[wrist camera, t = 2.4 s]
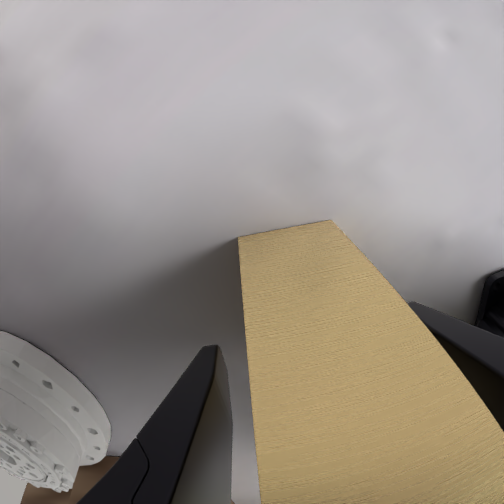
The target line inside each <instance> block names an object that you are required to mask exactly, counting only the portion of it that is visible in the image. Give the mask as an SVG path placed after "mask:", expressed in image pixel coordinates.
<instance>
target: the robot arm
mask: <svg viewBox="0 0 504 504" xmlns="http://www.w3.org/2000/svg"><path fill="white" fill-rule="evenodd" d="M407 304H408V305H409V307H410V308H411V309H412V310H413V311H414V313H415V314H416V315H417V316H418V317H419V319H420V320H421V321H422V322H423V323H424V325H425V326H426V327H427V328H428V330H429V331H430V332H431V333H432V334H433V336H434V337H435V338H436V339H437V341H438V342H439V343H440V345H441V346H442V347H443V348H444V350H445V351H446V352H447V353H448V355H449V356H450V357H451V359H452V360H453V361H454V363H455V364H456V365H457V367H458V368H459V369H460V371H461V372H462V373H463V375H464V376H465V377H466V379H467V380H468V381H469V383H470V384H471V385H472V387H473V388H474V390H475V391H476V392H477V394H478V395H479V397H480V398H481V399H482V401H483V402H484V404H485V405H486V407H487V408H488V409H489V411H490V412H491V414H492V415H493V417H494V418H495V420H496V421H497V423H498V424H499V426H500V427H501V429H502V430H503V432H504V270H503V271H501V272H498V273H495V274H493V275H491V276H490V277H489V278H488V279H487V281H486V282H485V285H484V289H483V294H482V299H481V304H480V308H479V312H478V317H477V321H476V325H475V326H473V325H471V324H468V323H466V322H463V321H461V320H458V319H456V318H453V317H451V316H448V315H446V314H444V313H441V312H439V311H436V310H434V309H431V308H429V307H426V306H424V305H421V304H419V303H416V302H408V303H407ZM232 433H233V423H232V411H231V402H230V392H229V382H228V373H227V368H226V365H225V362H224V358H223V355H222V352H221V349H220V347H219V346H218V345H210V346H204V347H203V348H202V349H201V350H200V351H199V353H198V354H197V355H196V357H195V358H194V360H193V361H192V362H191V364H190V365H189V366H188V368H187V369H186V370H185V372H184V373H183V374H182V376H181V377H180V379H179V380H178V381H177V383H176V384H175V385H174V387H173V388H172V389H171V391H170V392H169V393H168V395H167V396H166V397H165V399H164V400H163V401H162V403H161V404H160V405H159V407H158V408H157V409H156V411H155V412H154V414H153V415H152V416H151V418H150V419H149V420H148V422H147V423H146V424H145V426H144V427H143V428H142V430H141V431H140V432H139V433H138V435H137V439H136V438H135V439H134V440H133V441H132V443H131V444H130V445H129V447H128V448H127V449H126V450H125V452H124V453H123V454H122V455H121V457H120V458H119V459H118V460H117V461H116V463H115V464H114V465H113V466H112V467H111V468H110V469H109V470H108V472H107V473H106V474H105V475H104V476H103V477H102V478H101V479H100V480H99V481H98V482H97V483H96V484H95V485H94V486H93V487H92V488H91V489H90V490H89V491H88V492H87V493H86V494H85V495H84V496H83V497H82V498H81V499H80V500H79V501H78V502H77V503H76V504H231V471H232Z"/></svg>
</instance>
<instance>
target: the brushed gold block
mask: <svg viewBox="0 0 504 504" xmlns="http://www.w3.org/2000/svg"><path fill="white" fill-rule="evenodd" d="M238 246H239V259H240V272H241V285H242V297H243V310H244V322H245V334H246V346H247V358H248V369H249V380H250V392H251V403H252V414H253V424H254V435H255V446H256V456H257V466H258V476H259V486H260V496H261V504H504V432H503V430H502V429H501V427H500V426H499V424H498V423H497V421H496V420H495V418H494V417H493V415H492V414H491V412H490V411H489V409H488V408H487V407H486V405H485V404H484V402H483V401H482V399H481V398H480V397H479V395H478V394H477V392H476V391H475V390H474V388H473V387H472V385H471V384H470V383H469V381H468V380H467V379H466V377H465V376H464V375H463V373H462V372H461V371H460V369H459V368H458V367H457V365H456V364H455V363H454V361H453V360H452V359H451V357H450V356H449V355H448V353H447V352H446V351H445V350H444V348H443V347H442V346H441V345H440V343H439V342H438V341H437V339H436V338H435V337H434V336H433V334H432V333H431V332H430V331H429V330H428V328H427V327H426V326H425V325H424V323H423V322H422V321H421V320H420V319H419V317H418V316H417V315H416V314H415V313H414V311H413V310H412V309H411V308H410V307H409V305H408V304H407V303H406V302H405V301H404V299H403V298H402V297H401V296H400V295H399V294H398V292H397V291H396V290H395V289H394V288H393V287H392V286H391V284H390V283H389V282H388V281H387V280H386V279H385V278H384V276H383V275H382V274H381V273H380V272H379V271H378V270H377V269H376V268H375V266H374V265H373V264H372V263H371V262H370V261H369V260H368V259H367V258H366V257H365V255H364V254H363V253H362V252H361V251H360V250H359V249H358V248H357V247H356V246H355V245H354V244H353V242H352V241H351V240H350V239H349V238H348V237H347V236H346V235H345V234H344V233H343V232H342V231H341V230H340V229H339V228H338V227H337V226H336V225H335V224H334V222H333V221H332V220H327V221H322V222H316V223H311V224H306V225H300V226H295V227H289V228H284V229H279V230H273V231H268V232H263V233H257V234H252V235H247V236H242V237H238Z"/></svg>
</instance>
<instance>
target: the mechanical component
mask: <svg viewBox="0 0 504 504" xmlns="http://www.w3.org/2000/svg"><path fill="white" fill-rule="evenodd" d="M110 439H111V425H110V423H109V420H108V418H107V416H106V414H105V411H104V409H103V408H102V406H101V405H100V404H99V402H98V401H97V400H96V398H95V397H94V395H93V394H92V393H91V392H90V391H89V390H88V389H87V388H86V387H85V386H84V385H83V384H82V383H81V382H80V381H79V380H78V379H77V378H76V377H75V376H74V375H73V374H72V373H70V372H69V371H68V370H66V369H65V368H64V367H63V366H61V365H60V364H59V363H58V362H57V361H55V360H54V359H53V358H52V357H51V356H49V355H47V354H46V353H44V352H43V351H41V350H39V349H38V348H36V347H34V346H33V345H31V344H30V343H28V342H27V341H24V340H22V339H20V338H18V337H15V336H13V335H11V334H9V333H7V332H3V331H0V467H1V468H2V469H4V470H5V471H6V472H7V473H9V474H10V475H13V476H16V477H18V478H19V479H21V480H24V481H26V482H29V483H31V484H32V485H33V486H35V487H37V488H40V487H44V488H52V489H53V490H54V491H56V492H59V493H61V491H62V490H63V491H65V492H68V491H69V489H72V487H73V483H74V481H75V478H76V475H77V471H78V468H79V466H84V465H92V464H95V463H98V462H100V461H101V460H102V459H103V458H104V457H105V455H106V452H107V449H108V445H109V442H110Z"/></svg>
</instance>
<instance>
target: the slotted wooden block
mask: <svg viewBox="0 0 504 504" xmlns="http://www.w3.org/2000/svg"><path fill="white" fill-rule="evenodd" d="M119 458H120V457H113V456H105V457H104V458H103V459H102V460H101V461H100V462H98V463H95V464H92V465H84V466H79V468H78V471H77V475H76V478H75V481H74V483H73V487H72V489H69V491H68V492H65V491H63V490H62V491H61V493H59V492H56V491H54V490H53V489H52V488H44V487H40V488H37V487H35V486H33V485H32V484H31V483H29V482H28V483H27V485H26V488H25V492H24V494H23V497H22V501H21V504H76V503H77V502H78V501H79V500H80V499H81V498H82V497H83V496H84V495H85V494H86V493H87V492H88V491H89V490H90V489H91V488H92V487H93V486H94V485H95V484H96V483H97V482H98V481H99V480H100V479H101V478H102V477H103V476H104V475H105V474H106V473H107V472H108V470H109V469H110V468H111V467H112V466H113V465H114V464H115V463H116V461H117V460H118V459H119ZM231 504H234V502H233V501H232V500H231Z"/></svg>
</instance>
